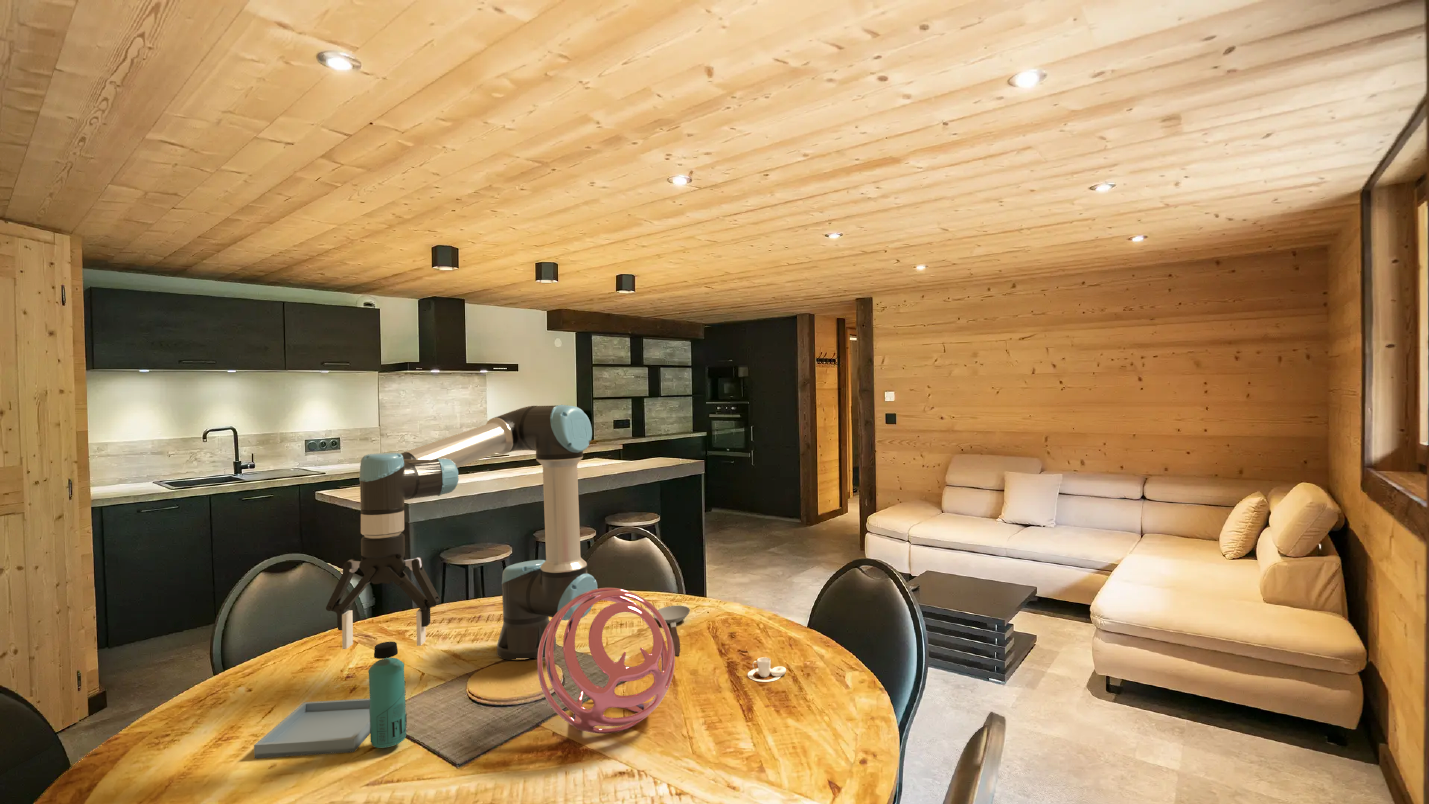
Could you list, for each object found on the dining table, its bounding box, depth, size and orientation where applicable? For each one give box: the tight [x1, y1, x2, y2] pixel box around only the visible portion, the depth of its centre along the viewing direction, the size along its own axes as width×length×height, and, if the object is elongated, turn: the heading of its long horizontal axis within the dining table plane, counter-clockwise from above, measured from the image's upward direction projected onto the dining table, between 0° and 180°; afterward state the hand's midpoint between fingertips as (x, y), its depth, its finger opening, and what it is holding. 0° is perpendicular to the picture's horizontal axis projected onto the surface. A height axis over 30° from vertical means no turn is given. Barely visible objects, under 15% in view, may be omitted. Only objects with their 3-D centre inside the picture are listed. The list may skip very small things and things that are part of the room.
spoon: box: [652, 605, 691, 657], centre depth 189 cm, size 11×33×3 cm, turn 6°
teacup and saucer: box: [747, 656, 787, 683], centre depth 160 cm, size 9×8×4 cm
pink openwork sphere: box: [536, 587, 676, 735], centre depth 140 cm, size 28×28×27 cm
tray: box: [253, 698, 371, 759], centre depth 137 cm, size 18×18×2 cm
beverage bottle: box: [367, 640, 408, 749], centre depth 130 cm, size 6×7×20 cm
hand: (384, 645), depth 130 cm, fingers open, 13 cm apart
